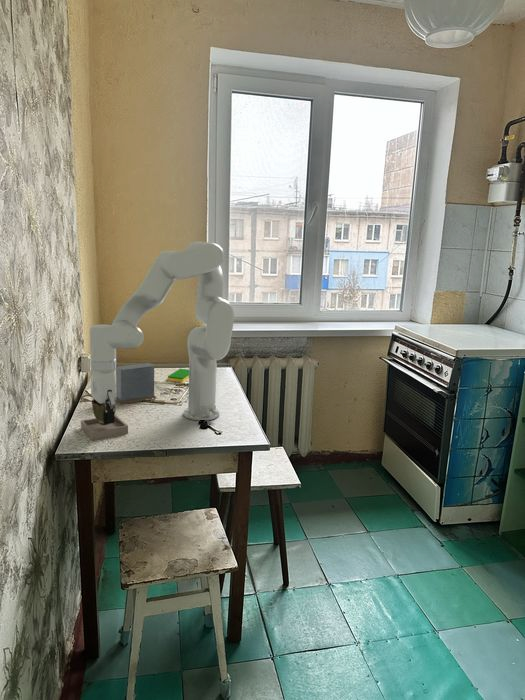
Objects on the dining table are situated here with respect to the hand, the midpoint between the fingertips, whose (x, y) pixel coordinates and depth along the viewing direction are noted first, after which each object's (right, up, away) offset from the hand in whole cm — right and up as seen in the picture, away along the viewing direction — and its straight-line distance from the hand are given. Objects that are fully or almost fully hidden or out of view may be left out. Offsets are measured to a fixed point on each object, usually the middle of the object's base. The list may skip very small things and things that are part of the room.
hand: (104, 419), depth 153 cm
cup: (0, -2, 0) cm, 2 cm away
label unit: (+2, +3, +31) cm, 31 cm away
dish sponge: (+14, +9, +63) cm, 65 cm away
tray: (0, -4, +1) cm, 4 cm away
